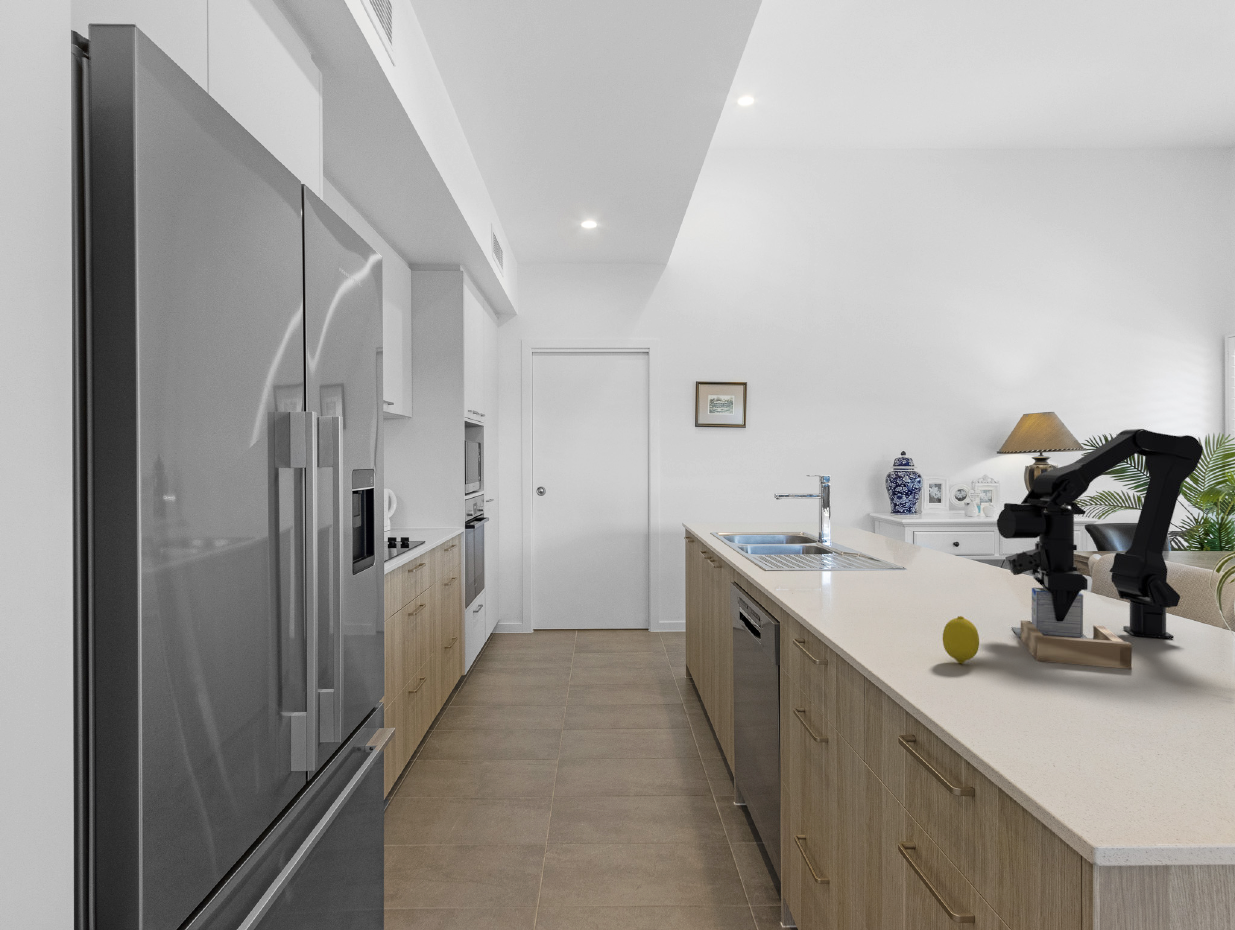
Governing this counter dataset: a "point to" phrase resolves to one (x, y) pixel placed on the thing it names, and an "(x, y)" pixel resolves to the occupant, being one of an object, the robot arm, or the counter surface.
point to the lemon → (960, 639)
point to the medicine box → (1046, 617)
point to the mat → (1018, 632)
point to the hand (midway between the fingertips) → (1056, 618)
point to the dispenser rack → (1078, 647)
